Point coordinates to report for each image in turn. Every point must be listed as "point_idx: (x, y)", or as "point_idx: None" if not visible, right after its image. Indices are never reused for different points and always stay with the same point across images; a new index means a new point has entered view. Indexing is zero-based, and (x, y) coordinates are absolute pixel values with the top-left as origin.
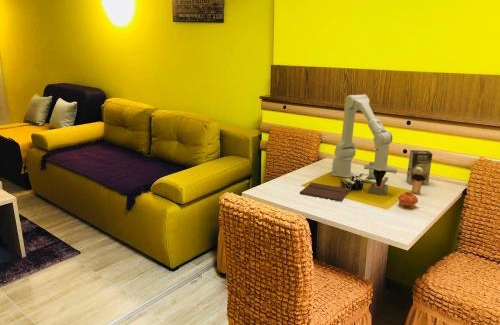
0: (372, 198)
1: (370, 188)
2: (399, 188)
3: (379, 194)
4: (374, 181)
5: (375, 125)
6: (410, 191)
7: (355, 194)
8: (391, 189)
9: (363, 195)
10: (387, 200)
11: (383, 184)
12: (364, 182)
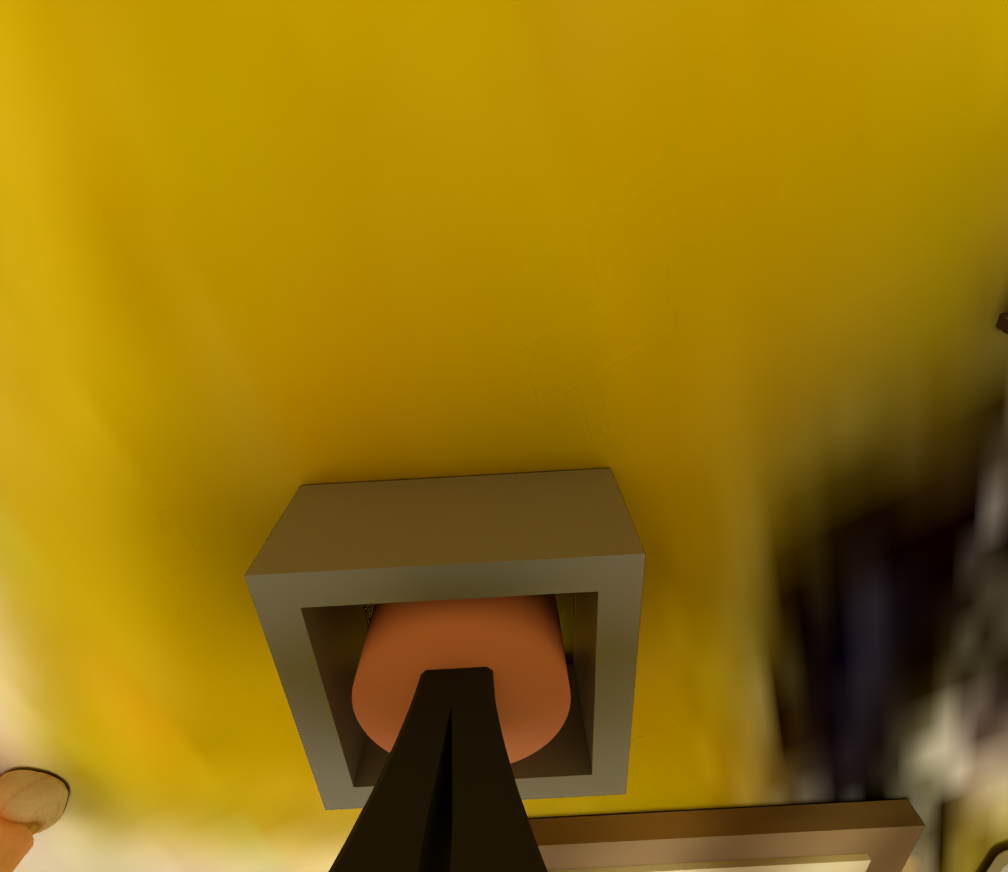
0: (428, 146)
1: (599, 527)
2: (259, 828)
3: (390, 481)
4: (629, 870)
5: None
6: (40, 794)
7: (881, 199)
8: None
9: (682, 242)
10: (76, 220)
11: None
12: (760, 809)
